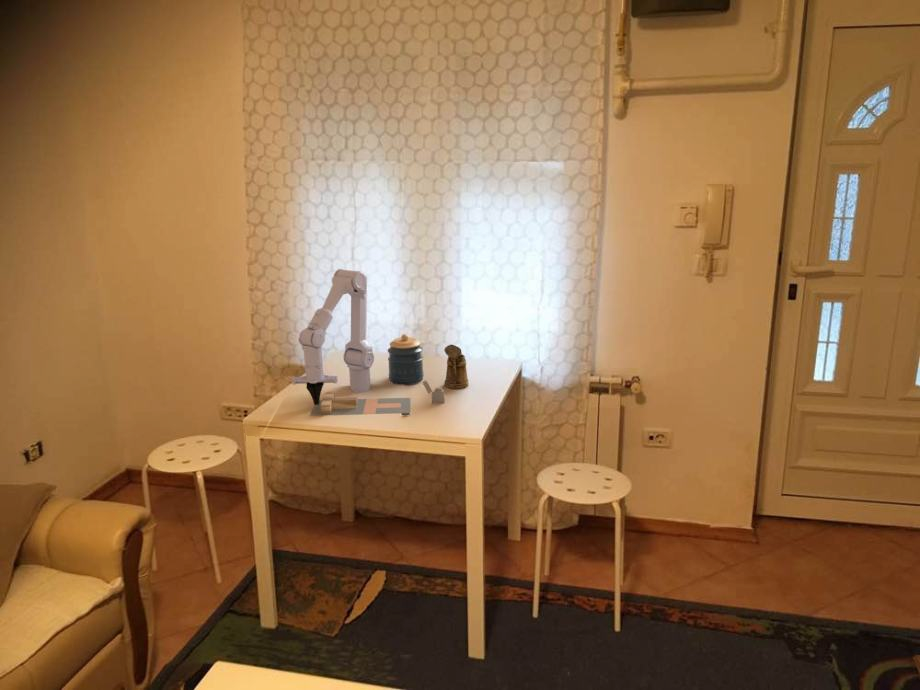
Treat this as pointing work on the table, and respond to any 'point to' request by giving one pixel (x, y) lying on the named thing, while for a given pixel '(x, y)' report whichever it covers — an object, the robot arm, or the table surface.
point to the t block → (337, 403)
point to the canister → (405, 361)
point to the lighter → (435, 394)
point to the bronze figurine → (455, 368)
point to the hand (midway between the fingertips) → (316, 403)
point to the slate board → (370, 407)
